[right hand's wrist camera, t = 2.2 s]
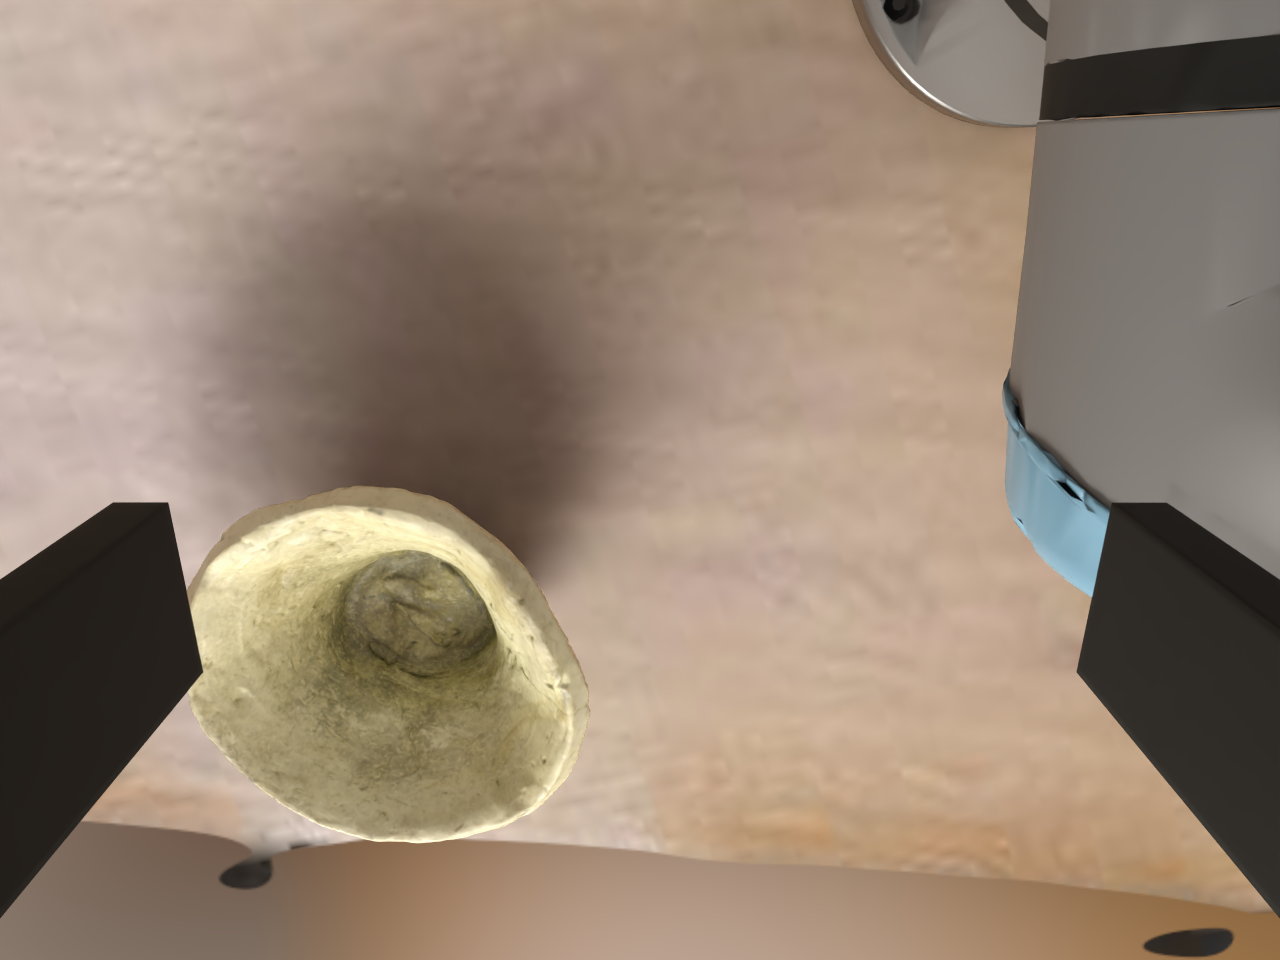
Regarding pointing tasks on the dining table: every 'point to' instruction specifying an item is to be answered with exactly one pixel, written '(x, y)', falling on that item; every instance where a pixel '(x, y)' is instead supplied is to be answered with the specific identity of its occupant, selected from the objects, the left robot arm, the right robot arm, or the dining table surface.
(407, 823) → the bowl
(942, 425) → the dining table surface
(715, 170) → the dining table surface
